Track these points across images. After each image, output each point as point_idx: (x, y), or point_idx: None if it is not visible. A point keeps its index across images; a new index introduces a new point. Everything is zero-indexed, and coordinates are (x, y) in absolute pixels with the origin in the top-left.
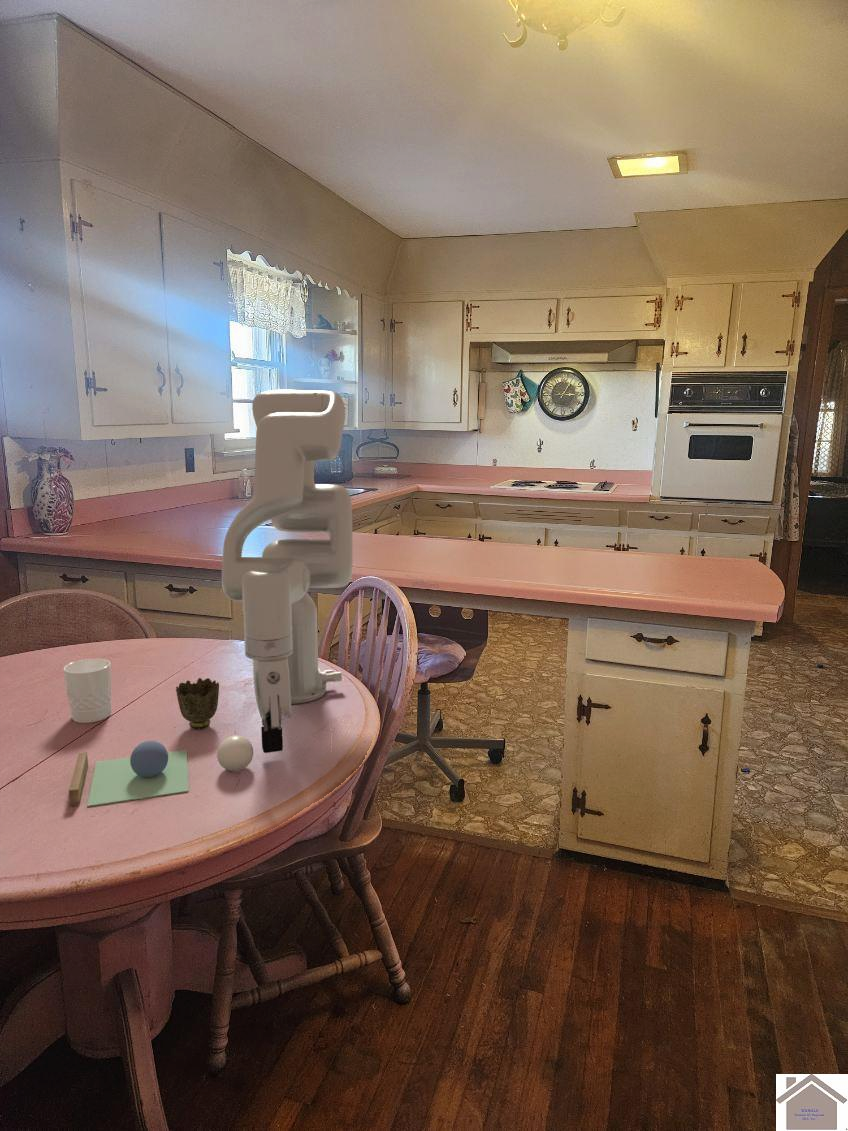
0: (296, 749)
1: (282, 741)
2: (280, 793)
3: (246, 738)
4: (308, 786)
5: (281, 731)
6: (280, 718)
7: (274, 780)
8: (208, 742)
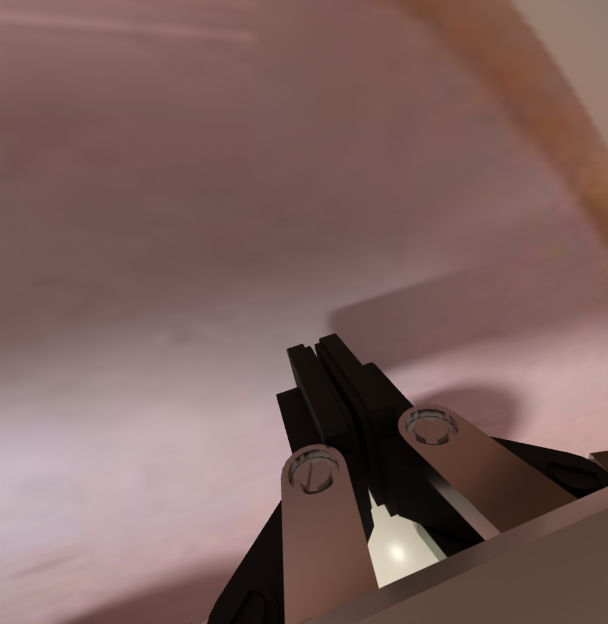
0: (221, 264)
1: (351, 353)
2: (566, 281)
3: (417, 539)
4: (559, 177)
5: (381, 393)
6: (554, 488)
7: (481, 317)
8: (163, 606)
